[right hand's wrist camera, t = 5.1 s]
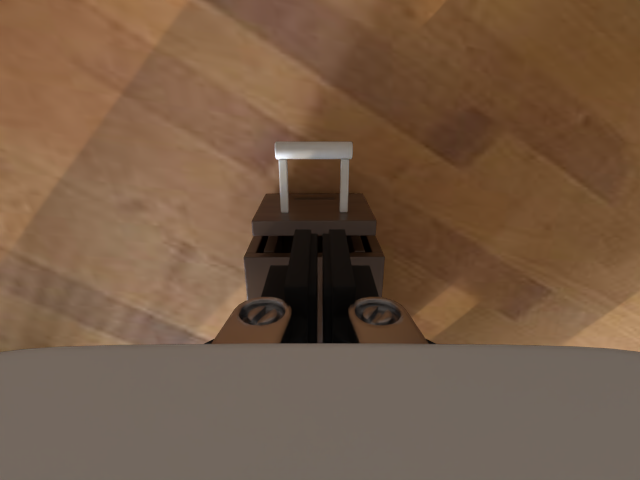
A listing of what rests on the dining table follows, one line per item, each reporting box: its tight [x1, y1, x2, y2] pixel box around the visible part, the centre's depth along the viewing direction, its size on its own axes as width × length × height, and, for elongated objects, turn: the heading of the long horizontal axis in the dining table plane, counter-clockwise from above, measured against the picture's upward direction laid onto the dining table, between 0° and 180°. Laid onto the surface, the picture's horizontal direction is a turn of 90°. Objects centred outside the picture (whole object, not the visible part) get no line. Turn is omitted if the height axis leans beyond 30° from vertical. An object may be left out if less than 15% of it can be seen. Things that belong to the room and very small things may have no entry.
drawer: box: [252, 142, 376, 253], centre depth 31 cm, size 22×9×8 cm, turn 0°
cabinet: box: [244, 236, 385, 344], centre depth 34 cm, size 18×10×10 cm, turn 0°
